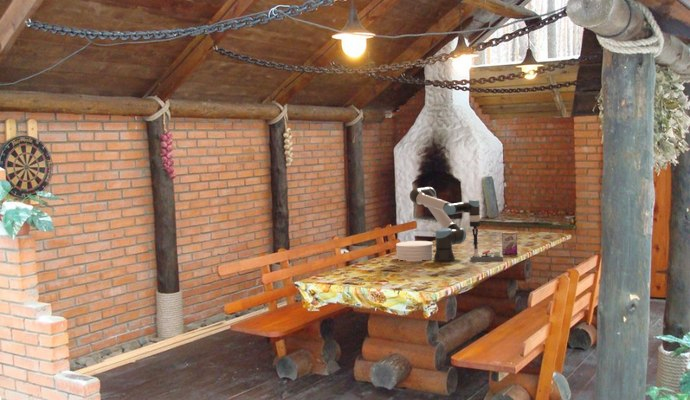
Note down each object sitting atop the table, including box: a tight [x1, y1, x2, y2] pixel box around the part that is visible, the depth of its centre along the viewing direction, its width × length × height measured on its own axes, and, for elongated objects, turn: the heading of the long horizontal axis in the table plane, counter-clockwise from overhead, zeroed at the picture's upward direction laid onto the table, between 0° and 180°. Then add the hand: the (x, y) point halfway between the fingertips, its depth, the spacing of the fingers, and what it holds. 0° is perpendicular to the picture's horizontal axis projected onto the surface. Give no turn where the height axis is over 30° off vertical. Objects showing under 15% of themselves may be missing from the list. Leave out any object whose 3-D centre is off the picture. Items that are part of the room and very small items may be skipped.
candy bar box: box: [501, 231, 518, 255], centre depth 514 cm, size 11×5×16 cm, turn 74°
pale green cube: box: [493, 250, 501, 256], centre depth 490 cm, size 4×4×4 cm
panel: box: [469, 253, 504, 262], centre depth 492 cm, size 23×8×4 cm, turn 78°
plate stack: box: [395, 240, 435, 262], centre depth 515 cm, size 28×28×12 cm
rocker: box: [481, 249, 491, 255], centre depth 492 cm, size 6×4×2 cm
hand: (476, 253), depth 493 cm, fingers closed
